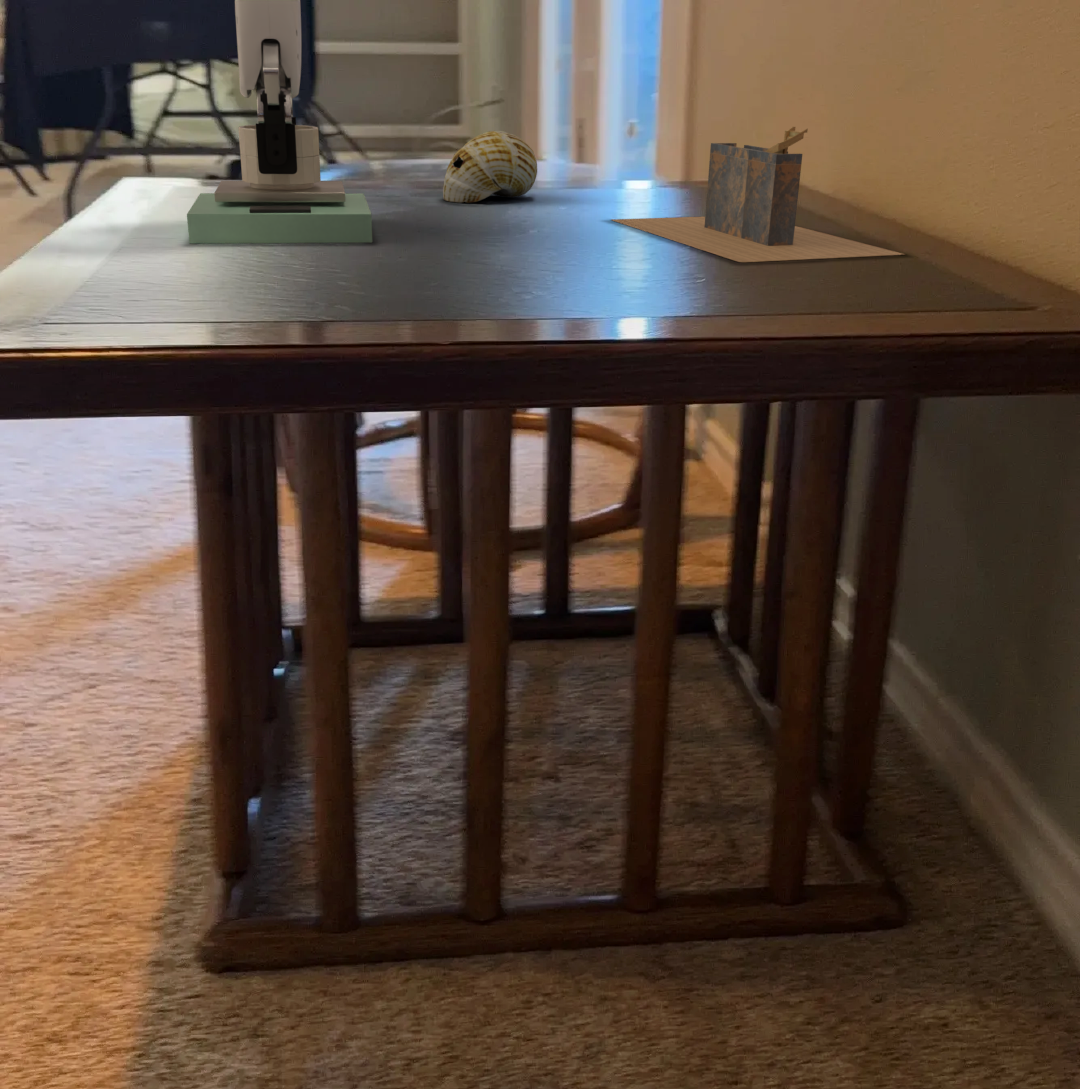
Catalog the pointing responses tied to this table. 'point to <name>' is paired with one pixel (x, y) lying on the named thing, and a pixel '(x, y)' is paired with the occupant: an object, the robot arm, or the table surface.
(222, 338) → the table surface
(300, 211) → the scale
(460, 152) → the seashell
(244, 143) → the bowl
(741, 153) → the ruin model on sheet
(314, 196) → the pan
